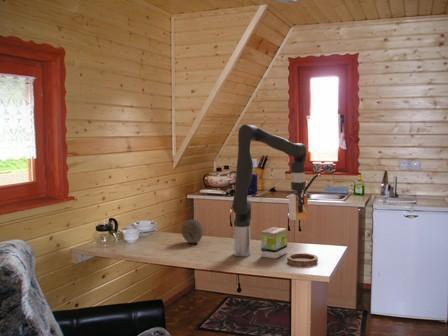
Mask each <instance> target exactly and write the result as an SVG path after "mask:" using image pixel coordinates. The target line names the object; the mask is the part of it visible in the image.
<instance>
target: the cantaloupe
mask: <svg viewBox="0 0 448 336" xmlns="http://www.w3.org/2000/svg"><path fill="white" fill-rule="evenodd" d="M181 226H182V227H181V235H182V237H183V239H184V241H186V242H187V243H189V244H198V243H200V241H201V240H202V237H203V233H204V229H203V226H202V224H201V222H200V221H199V220H196V219H189V220H186V221H185V222H183V224H182V225H181Z"/></svg>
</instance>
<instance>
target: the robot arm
mask: <svg viewBox="0 0 448 336" xmlns="http://www.w3.org/2000/svg"><path fill="white" fill-rule="evenodd" d="M237 133H238V135H237V138H238V139H237V140H238V141H237V142H238V143H237V144H238V145H237V147H238V148H237V149H238V150H237V161H236V162H237V163H236V172H235V173H236V174H235V187H234V195H233V198H232V205H231V206H232V207H231V208H232V211H233V213H234V214H235V217H234V220H233V255H234V256H235V257H240V258H241V257H249V256H251V220H252V203H251V200H249V198H248V194H249V193H248V191H249V188H250V186H251V185H250V184H251V182H252V178H253V171H254V170H253V169H254V162H253V159H252V155H251V142H260V143H263V144H265V145H267V146H268V147H270V148H272V149H275V150H277V151H280V152H283V153H284V154H286V155H288V156H289V157H293V161H292V162H291V163H290V164H291V165H290V189H291V191H292V195H296V196H299V200H298V205H299V206H298V212H299V213H302V212H303V205H304V193H303V191H305V190H306V174H305V163H306V157H307V147H306V145H305V144H303V143H301V142H300V143H293V142H291V141H289V139H288V138H287V139H286V138H283V137H281V136H278V135H275V134H272V133H269V132H268V131H265V130H263V129H261V128H259V127H258V126H256V125H253V124H242V125H241V126H240V127H239V129H238V132H237Z"/></svg>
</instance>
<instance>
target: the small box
mask: <svg viewBox="0 0 448 336" xmlns="http://www.w3.org/2000/svg"><path fill="white" fill-rule="evenodd" d="M298 200H299V196H296V195H293V194H289V195H288V219H289V220H293V221H300V220H308V219H309V217H308V212H309V210H308V194H304V205H303V212H302V213H299V212H298V206H299V205H298Z"/></svg>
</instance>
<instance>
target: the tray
mask: <svg viewBox="0 0 448 336" xmlns="http://www.w3.org/2000/svg"><path fill="white" fill-rule="evenodd" d="M318 259H319V257H318V256H317V255H315V254H312V253H307V252H306V253H305V252H300V253H299V252H297V253H290V254H289V255H287V256H286V261H287V264H288V265H291V266H296V267H312V266H316V265H317V264H318Z"/></svg>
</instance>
